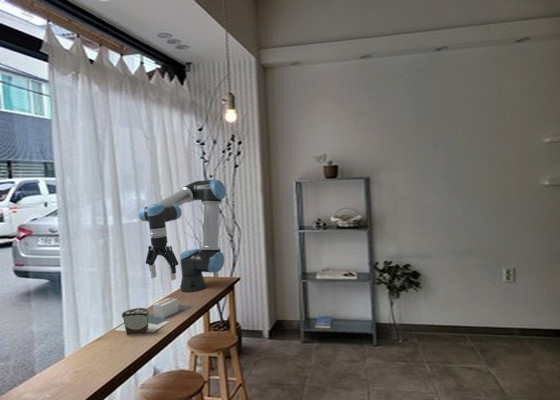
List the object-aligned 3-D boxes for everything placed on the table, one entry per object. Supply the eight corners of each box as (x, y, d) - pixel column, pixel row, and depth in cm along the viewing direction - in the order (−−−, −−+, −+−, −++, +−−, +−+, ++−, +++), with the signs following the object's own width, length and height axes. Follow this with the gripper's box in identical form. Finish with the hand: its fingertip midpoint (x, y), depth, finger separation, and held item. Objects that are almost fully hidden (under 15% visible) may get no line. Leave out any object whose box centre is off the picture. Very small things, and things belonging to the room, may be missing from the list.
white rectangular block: (163, 318, 187) (162, 305, 187) (154, 316, 190) (152, 304, 190) (178, 310, 196) (177, 298, 195) (169, 309, 199) (168, 297, 199)
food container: (156, 328, 176) (153, 306, 175) (150, 334, 170) (148, 311, 169) (130, 329, 177) (127, 308, 177) (123, 335, 171) (121, 313, 170)
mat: (174, 304, 207) (174, 304, 207) (193, 307, 200) (193, 306, 200) (138, 321, 186) (137, 320, 186) (157, 325, 180) (157, 324, 179)
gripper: (135, 237, 193) (140, 279, 195) (171, 238, 180) (176, 283, 183) (147, 234, 200) (151, 274, 202) (182, 235, 187) (187, 278, 189)
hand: (163, 278), depth 192 cm, fingers open, 13 cm apart
